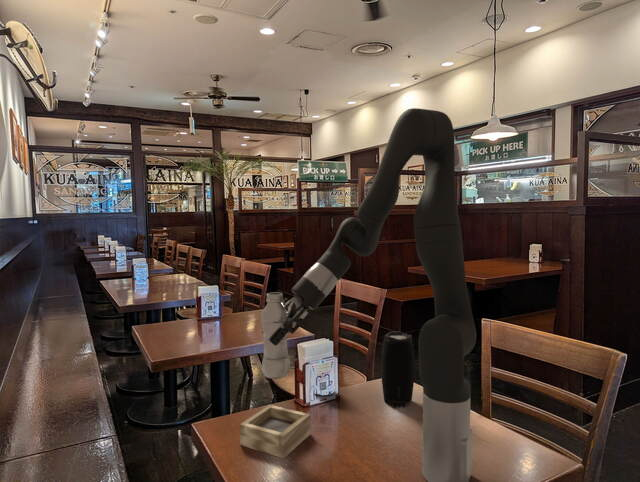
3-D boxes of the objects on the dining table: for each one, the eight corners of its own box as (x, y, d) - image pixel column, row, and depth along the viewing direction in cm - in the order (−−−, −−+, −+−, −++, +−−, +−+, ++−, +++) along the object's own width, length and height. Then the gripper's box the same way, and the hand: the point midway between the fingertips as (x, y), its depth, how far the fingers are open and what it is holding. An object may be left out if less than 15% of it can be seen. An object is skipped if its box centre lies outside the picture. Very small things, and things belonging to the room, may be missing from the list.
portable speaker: (386, 393, 131) (387, 329, 130) (417, 399, 126) (418, 333, 125) (377, 404, 123) (377, 336, 122) (409, 411, 119) (410, 340, 118)
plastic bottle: (286, 383, 99) (284, 296, 98) (258, 381, 100) (256, 295, 99) (293, 373, 105) (292, 291, 104) (266, 371, 107) (265, 290, 106)
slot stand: (310, 434, 106) (310, 414, 106) (283, 458, 96) (283, 436, 95) (269, 423, 112) (269, 404, 112) (240, 445, 101) (240, 424, 101)
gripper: (295, 272, 111) (250, 322, 107) (315, 279, 98) (264, 337, 94) (314, 291, 113) (271, 341, 110) (337, 300, 100) (288, 358, 96)
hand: (268, 339), depth 102 cm, fingers closed on plastic bottle, 6 cm apart
